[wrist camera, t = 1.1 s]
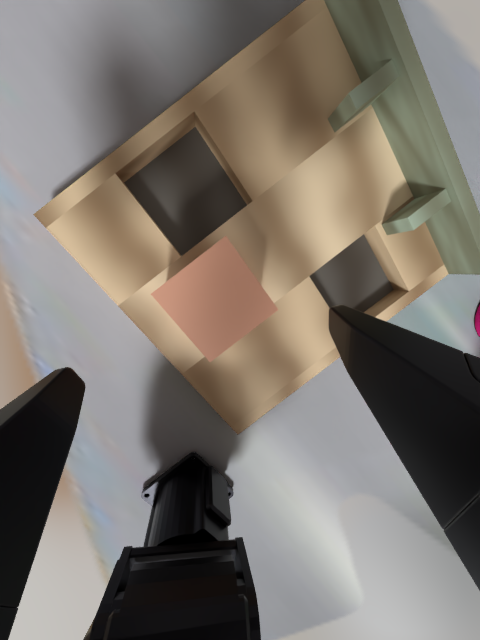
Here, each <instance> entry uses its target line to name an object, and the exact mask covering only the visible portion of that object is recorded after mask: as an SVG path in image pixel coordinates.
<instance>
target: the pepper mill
mask: <svg viewBox="0 0 480 640" xmlns="http://www.w3.org/2000/svg"><path fill="white" fill-rule="evenodd" d="M475 329H476V331H477V334H478V336H479V337H480V305H479V307H478V309H477V312H476V315H475Z"/></svg>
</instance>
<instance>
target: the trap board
mask: <svg viewBox="0 0 480 640" xmlns="http://www.w3.org/2000/svg"><path fill="white" fill-rule="evenodd" d="M33 215H34V216H35V217H36V218H37V219H38V220H39V221H40V222H41V223H42V224H43V225H44V226H45V228H46V229H47V230H48V231H49V232H50V233H51V234H52V235H53V236H54V237H55V238H56V239H57V241H58V242H59V243H60V244H61V245H62V246H63V247H64V248H65V249H66V250H67V251H68V252H69V253H70V255H71V256H72V257H73V258H74V259H75V260H76V261H77V262H78V263H79V264H80V265H81V266H82V267H83V269H84V270H85V271H86V272H87V273H88V274H89V275H90V276H91V277H92V278H93V279H94V280H95V281H96V283H97V284H98V285H99V286H100V287H101V288H102V289H103V290H104V291H105V292H106V293H107V294H108V295H109V297H110V298H111V299H112V300H113V301H114V302H115V303H116V304H117V305H118V306H119V307H120V308H121V309H122V311H123V312H124V313H125V314H126V315H127V316H128V317H129V318H130V319H131V320H132V321H133V322H134V324H135V325H136V326H137V327H138V328H139V329H140V330H141V331H142V332H143V333H144V334H145V335H146V336H147V338H148V339H149V340H150V341H151V342H152V343H153V344H154V345H155V346H156V347H157V348H158V349H159V350H160V352H161V353H162V354H163V355H164V356H165V357H166V358H167V359H168V360H169V361H170V362H171V363H172V364H173V366H174V367H175V368H176V369H177V370H178V371H179V372H180V373H181V374H182V375H183V376H184V377H185V378H186V380H187V381H188V382H189V383H190V384H191V385H192V386H193V387H194V388H195V389H196V390H197V391H198V392H199V394H200V395H201V396H202V397H203V398H204V399H205V400H206V401H207V402H208V403H209V404H210V405H211V407H212V408H213V409H214V410H215V411H216V412H217V413H218V414H219V415H220V416H221V417H222V418H223V419H224V421H225V422H226V423H227V424H228V425H229V426H230V427H231V428H232V429H233V430H234V431H235V432H236V433H237V435H238V434H240V433H241V432H242V431H243V430H245V429H246V428H247V427H249V426H250V425H251V424H253V423H254V422H255V421H257V420H258V419H259V418H260V417H262V416H263V415H264V414H266V413H267V412H268V411H270V410H271V409H272V408H274V407H275V406H276V405H278V404H279V403H280V402H281V401H283V400H284V399H285V398H287V397H288V396H289V395H291V394H292V393H293V392H295V391H296V390H297V389H298V388H300V387H301V386H302V385H304V384H305V383H306V382H308V381H309V380H310V379H312V378H313V377H314V376H315V375H317V374H318V373H319V372H321V371H322V370H323V369H325V368H326V367H327V366H329V365H330V364H331V363H333V362H334V361H335V360H336V359H338V358H339V357H340V354H339V352H338V350H337V348H336V346H335V343H334V341H333V339H332V337H331V335H330V332H329V308H330V307H333V306H337V305H345V306H348V307H350V308H353V309H355V310H358V311H360V312H363V313H366V314H368V315H371V316H373V317H376V318H378V319H381V320H383V321H388V320H389V319H390V318H391V317H393V316H394V315H395V314H397V313H398V312H399V311H401V310H402V309H403V308H405V307H406V306H407V305H408V304H410V303H411V302H412V301H414V300H415V299H416V298H418V297H419V296H420V295H422V294H423V293H424V292H426V291H427V290H428V289H429V288H431V287H432V286H433V285H435V284H436V283H437V282H439V281H440V280H441V279H443V278H444V277H445V276H446V275H448V274H478V275H480V214H479V211H478V209H477V206H476V203H475V201H474V198H473V196H472V193H471V190H470V188H469V185H468V183H467V180H466V177H465V175H464V172H463V170H462V167H461V164H460V162H459V159H458V157H457V154H456V151H455V149H454V146H453V144H452V141H451V138H450V136H449V133H448V130H447V128H446V125H445V123H444V120H443V117H442V115H441V112H440V110H439V107H438V104H437V102H436V99H435V97H434V94H433V91H432V89H431V86H430V84H429V81H428V78H427V76H426V73H425V71H424V68H423V65H422V63H421V60H420V58H419V55H418V52H417V50H416V47H415V45H414V42H413V39H412V37H411V34H410V32H409V29H408V26H407V24H406V21H405V18H404V16H403V13H402V11H401V8H400V5H399V3H398V0H305V1H304V2H303V3H301V4H300V5H299V6H297V7H296V8H295V9H294V10H292V11H291V12H290V13H289V14H287V15H286V16H285V17H283V18H282V19H281V20H280V21H278V22H277V23H276V24H275V25H273V26H272V27H271V28H270V29H268V30H267V31H266V32H264V33H263V34H262V35H261V36H259V37H258V38H257V39H256V40H254V41H253V42H252V43H250V44H249V45H248V46H247V47H245V48H244V49H243V50H242V51H240V52H239V53H238V54H237V55H235V56H234V57H233V58H231V59H230V60H229V61H228V62H226V63H225V64H224V65H223V66H221V67H220V68H219V69H217V70H216V71H215V72H214V73H212V74H211V75H210V76H209V77H207V78H206V79H205V80H204V81H202V82H201V83H200V84H198V85H197V86H196V87H195V88H193V89H192V90H191V91H190V92H188V93H187V94H186V95H184V96H183V97H182V98H181V99H179V100H178V101H177V102H176V103H174V104H173V105H172V106H170V107H169V108H168V109H167V110H165V111H164V112H163V113H162V114H160V115H159V116H158V117H157V118H155V119H154V120H153V121H151V122H150V123H149V124H148V125H146V126H145V127H144V128H143V129H141V130H140V131H139V132H137V133H136V134H135V135H134V136H132V137H131V138H130V139H129V140H127V141H126V142H125V143H124V144H122V145H121V146H120V147H118V148H117V149H116V150H115V151H113V152H112V153H111V154H110V155H108V156H107V157H106V158H104V159H103V160H102V161H101V162H99V163H98V164H97V165H96V166H94V167H93V168H92V169H91V170H89V171H88V172H87V173H85V174H84V175H83V176H82V177H80V178H79V179H78V180H77V181H75V182H74V183H73V184H71V185H70V186H69V187H68V188H66V189H65V190H64V191H63V192H61V193H60V194H59V195H58V196H56V197H55V198H54V199H52V200H51V201H50V202H49V203H47V204H46V205H45V206H44V207H42V208H41V209H40V210H38V211H37V212H36V213H35V214H33ZM225 236H226V237H227V238H228V239H229V241H230V242H231V244H232V245H233V246H234V248H235V249H236V251H237V252H238V253H239V255H240V256H241V258H242V259H243V260H244V262H245V263H246V265H247V266H248V267H249V269H250V270H251V272H252V273H253V274H254V276H255V277H256V279H257V280H258V282H259V283H260V284H261V286H262V287H263V289H264V290H265V291H266V293H267V294H268V296H269V297H270V298H271V300H272V301H273V303H274V304H275V305H276V307H277V308H278V311H276V312H275V313H274V314H272V315H271V316H270V317H269V318H267V319H266V320H265V321H263V322H262V323H261V324H259V325H258V326H257V327H256V328H254V329H253V330H252V331H250V332H249V333H248V334H246V335H245V336H244V337H243V338H241V339H240V340H239V341H237V342H236V343H235V344H233V345H232V346H231V347H230V348H228V349H227V350H226V351H224V352H223V353H222V354H220V355H219V356H218V357H217V358H215V359H214V360H213V361H211V362H209V361H208V360H207V358H206V357H205V356H204V355H203V354H202V353H201V352H200V350H199V349H198V348H197V347H196V346H195V345H194V343H193V342H192V341H191V340H190V339H189V338H188V337H187V335H186V334H185V333H184V332H183V331H182V330H181V329H180V327H179V326H178V325H177V324H176V323H175V322H174V320H173V319H172V318H171V317H170V316H169V315H168V314H167V312H166V311H165V310H164V309H163V308H162V307H161V306H160V304H159V303H158V302H157V301H156V300H155V299H154V297H153V296H152V295H151V293H153V292H154V291H155V290H156V289H158V288H159V287H160V286H162V285H163V284H164V283H165V282H167V281H168V280H169V279H171V278H172V277H173V276H175V275H176V274H177V273H178V272H180V271H181V270H182V269H184V268H185V267H186V266H187V265H189V264H190V263H191V262H193V261H194V260H195V259H196V258H198V257H199V256H200V255H202V254H203V253H204V252H205V251H207V250H208V249H209V248H211V247H212V246H213V245H214V244H216V243H217V242H218V241H220V240H221V239H222V238H223V237H225Z"/></svg>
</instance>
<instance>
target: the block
mask: <svg viewBox="0 0 480 640" xmlns="http://www.w3.org/2000/svg"><path fill="white" fill-rule="evenodd" d="M151 295H152V296H153V297H154V299H155V300H156V301H157V302H158V303H159V304H160V306H161V307H162V308H163V309H164V310H165V311H166V312H167V314H168V315H169V316H170V317H171V318H172V319H173V320H174V322H175V323H176V324H177V325H178V326H179V327H180V329H181V330H182V331H183V332H184V333H185V334H186V335H187V337H188V338H189V339H190V340H191V341H192V342H193V343H194V345H195V346H196V347H197V348H198V349H199V350H200V352H201V353H202V354H203V355H204V356H205V357H206V358H207V360H208V361H209V362H211V361H213V360H214V359H215V358H217V357H218V356H219V355H220V354H222V353H223V352H224V351H226V350H227V349H228V348H230V347H231V346H232V345H233V344H235V343H236V342H237V341H239V340H240V339H241V338H243V337H244V336H245V335H246V334H248V333H249V332H250V331H252V330H253V329H254V328H256V327H257V326H258V325H259V324H261V323H262V322H263V321H265V320H266V319H267V318H269V317H270V316H271V315H272V314H274V313H275V312H276V311H278V308H277V307H276V305H275V304H274V303H273V301H272V300H271V298H270V297H269V296H268V294H267V293H266V291H265V290H264V289H263V287H262V286H261V284H260V283H259V282H258V280H257V279H256V277H255V276H254V274H253V273H252V272H251V270H250V269H249V267H248V266H247V265H246V263H245V262H244V260H243V259H242V258H241V256H240V255H239V253H238V252H237V251H236V249H235V248H234V246H233V245H232V244H231V242H230V241H229V239H228V238H227V237H226V236H225V237H223V238H222V239H221V240H220V241H218V242H217V243H216V244H214V245H213V246H212V247H211V248H209V249H208V250H207V251H205V252H204V253H203V254H202V255H200V256H199V257H198V258H196V259H195V260H194V261H193V262H191V263H190V264H189V265H187V266H186V267H185V268H184V269H182V270H181V271H180V272H178V273H177V274H176V275H175V276H173V277H172V278H171V279H169V280H168V281H167V282H165V283H164V284H163V285H162V286H160V287H159V288H158V289H156V290H155V291H154V292H153V293H151Z"/></svg>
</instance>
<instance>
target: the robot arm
mask: <svg viewBox="0 0 480 640" xmlns="http://www.w3.org/2000/svg"><path fill="white" fill-rule="evenodd" d="M329 332H330V335H331V337H332V339H333V341H334V343H335V346H336V348H337V350H338V352H339V354H340V357H341V359H342V361H343V363H344V366H345V368H346V370H347V372H348V373H349V375H350V377H351V379H352V380H353V382H354V384H355V385H356V387H357V389H358V390H359V392H360V394H361V395H362V397H363V399H364V400H365V402H366V403H367V405H368V407H369V408H370V410H371V412H372V413H373V415H374V417H375V418H376V420H377V422H378V423H379V425H380V427H381V428H382V430H383V432H384V433H385V435H386V436H387V438H388V440H389V441H390V443H391V445H392V446H393V448H394V450H395V451H396V453H397V455H398V456H399V458H400V460H401V461H402V463H403V465H404V466H405V468H406V469H407V471H408V473H409V474H410V476H411V478H412V479H413V481H414V483H415V484H416V486H417V488H418V489H419V491H420V493H421V494H422V496H423V498H424V499H425V501H426V502H427V504H428V506H429V507H430V509H431V511H432V512H433V514H434V516H435V517H436V519H437V521H438V522H439V524H440V526H441V527H442V528H443V529H444V533H445V534H446V536H447V538H448V539H449V541H450V542H451V544H452V546H453V547H454V549H455V551H456V552H457V554H458V556H459V557H460V559H461V561H462V562H463V564H464V566H465V567H466V569H467V571H468V572H469V574H470V575H471V577H472V579H473V580H474V582H475V584H476V585H477V587H478V589H479V590H480V358H478V357H475V356H473V355H470V354H468V353H463V352H462V351H460V350H457V349H455V348H452V347H450V346H447V345H445V344H442V343H440V342H437V341H434V340H432V339H429V338H427V337H424V336H422V335H419V334H417V333H414V332H411V331H409V330H406V329H404V328H401V327H399V326H396V325H394V324H391V323H389V322H386V321H383V320H381V319H378V318H376V317H373V316H371V315H368V314H366V313H363V312H360V311H358V310H355V309H353V308H350V307H348V306H345V305H337V306H333V307H330V308H329ZM84 392H85V383H84V381H83V380H82V379H81V378H80V377H79V376H78V375H77V374H76V373H75V371H74V370H73V369H71V368H69V367H65V368H61V369H57V370H55V371H53V372H52V373H50V374H49V375H48V376H46V377H45V378H43V379H42V380H41V381H39V382H38V383H36V384H35V385H34V386H32V387H31V388H29V389H28V390H27V391H25V392H24V393H23V394H21V395H20V396H18V397H17V398H16V399H14V400H13V401H12V402H10V403H9V404H7V405H6V406H5V407H3V408H2V409H0V640H8V638H9V635H10V632H11V629H12V626H13V623H14V620H15V617H16V614H17V610H18V608H17V607H18V606H19V603H20V600H21V597H22V594H23V591H24V588H25V585H26V582H27V579H28V575H29V572H30V570H31V566H32V564H33V561H34V558H35V554H36V551H37V548H38V545H39V542H40V539H41V536H42V533H43V530H44V527H45V524H46V521H47V517H48V515H49V512H50V509H51V505H52V502H53V499H54V496H55V493H56V490H57V487H58V484H59V481H60V478H61V475H62V472H63V469H64V466H65V463H66V460H67V457H68V453H69V450H70V447H71V444H72V441H73V438H74V435H75V432H76V428H77V424H78V419H79V415H80V410H81V406H82V401H83V397H84ZM191 458H195V459H191ZM228 492H229V493H228ZM146 493H148V494H146ZM232 496H233V488H232V487H231V486H230V485H229V484H228V483H227V480H226V479H225V478H224V477H223V476H222V475H220V474H219V473H218V472H217V471H216V470H215V469H214V468H213V467H212V466H210V465H208V464H207V463H206V462H205V461H204V460H203V459H202V458H201V457H200V456H199V455H198V454H197V453H190V454H189V455H188V456H186V457H185V458H184V459H182V460H181V461H180V462H178V463H177V464H176V465H174V466H173V467H172V468H171V469H169V470H168V471H167V472H165V473H164V474H163V475H161V476H160V477H159V478H157V479H156V480H155V481H154V482H152V483H151V484H150V485H148V486H147V487H146V488H144V489H143V491H142V495H141V497H142V498H143V499H144V500H145V501H146V502H147V503H148V504H150V505H151V506H152V510H151V515H150V519H149V524H148V528H147V533H146V538H145V542H144V547H136V548H132V546H128V547H124V549H123V551H122V554H121V557H120V559H119V560H117V563H116V565H115V568H114V570H113V573H112V575H111V578H110V580H109V583H108V586H107V588H106V591H105V593H104V596H103V598H102V601H101V603H100V606H99V609H98V611H97V614H96V616H95V618H94V620H93V622H92V624H91V626H90V628H89V630H88V632H87V633H86V635H85V637H84V640H261V635H260V622H259V612H258V604H257V598H256V592H255V587H254V583H253V579H252V575H251V571H250V567H249V562H248V558H247V554H246V550H245V546H244V542H243V538H242V537H239V538H235V539H234V540H229V538H228V526H229V525H230V524H231V514H230V505H229V499H230V498H231V497H232Z"/></svg>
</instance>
